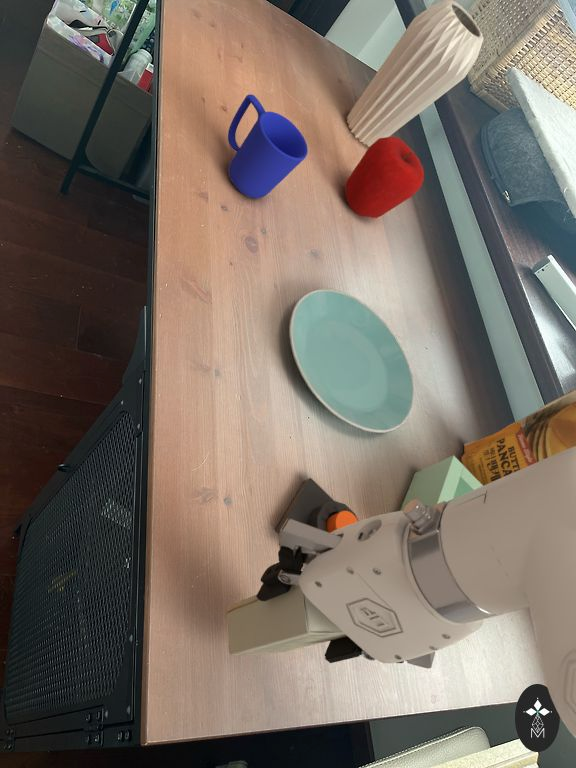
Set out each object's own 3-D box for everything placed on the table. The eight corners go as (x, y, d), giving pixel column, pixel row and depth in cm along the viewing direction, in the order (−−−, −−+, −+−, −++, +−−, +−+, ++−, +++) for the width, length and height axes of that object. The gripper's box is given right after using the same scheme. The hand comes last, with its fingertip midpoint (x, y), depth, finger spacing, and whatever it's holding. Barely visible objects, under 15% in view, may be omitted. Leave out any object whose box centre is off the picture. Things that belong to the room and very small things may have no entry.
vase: (339, 139, 115) (447, 21, 97) (332, 93, 122) (432, -26, 103) (391, 169, 122) (500, 64, 104) (381, 124, 129) (482, 18, 111)
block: (367, 542, 74) (384, 535, 72) (344, 596, 69) (362, 591, 67) (304, 480, 73) (320, 472, 71) (275, 530, 67) (291, 523, 65)
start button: (354, 529, 70) (364, 525, 69) (343, 553, 68) (354, 549, 67) (333, 508, 70) (343, 503, 69) (321, 532, 67) (331, 527, 66)
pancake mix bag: (478, 440, 98) (652, 359, 79) (512, 561, 90) (717, 503, 71) (451, 434, 95) (627, 347, 75) (483, 560, 86) (691, 499, 67)
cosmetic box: (279, 606, 60) (361, 575, 52) (284, 655, 58) (370, 631, 50) (223, 606, 57) (301, 573, 48) (226, 658, 55) (308, 633, 46)
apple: (387, 222, 112) (444, 173, 103) (360, 234, 104) (418, 181, 95) (354, 175, 112) (408, 121, 103) (324, 183, 105) (379, 126, 95)
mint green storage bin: (480, 539, 88) (522, 526, 83) (459, 623, 78) (505, 613, 73) (414, 472, 85) (453, 455, 81) (384, 549, 75) (426, 534, 71)
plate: (250, 343, 77) (262, 332, 75) (325, 275, 93) (337, 265, 91) (365, 473, 79) (380, 465, 77) (419, 385, 95) (433, 376, 93)
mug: (236, 138, 95) (273, 89, 88) (277, 202, 94) (317, 157, 87) (197, 140, 89) (233, 87, 82) (241, 208, 88) (281, 161, 81)
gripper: (347, 513, 37) (202, 584, 49) (539, 696, 39) (356, 720, 51) (384, 435, 42) (245, 516, 54) (550, 599, 44) (382, 642, 56)
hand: (300, 615), depth 52 cm, fingers closed on cosmetic box, 7 cm apart
